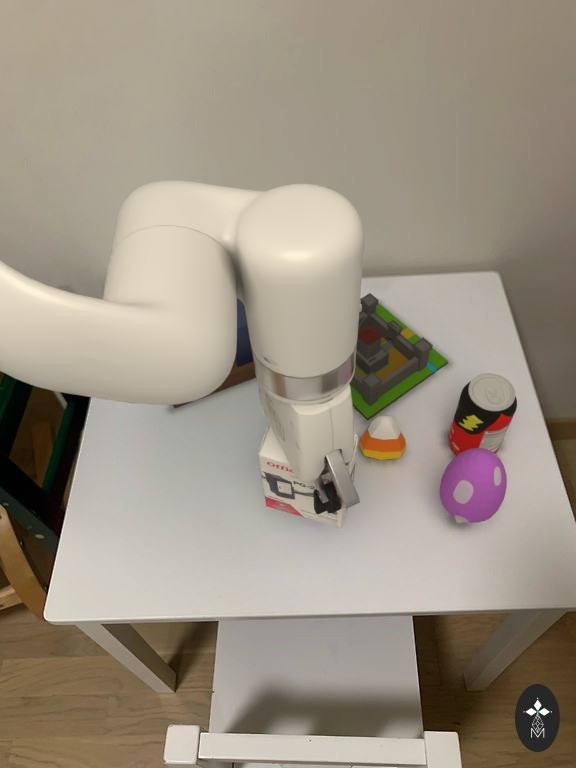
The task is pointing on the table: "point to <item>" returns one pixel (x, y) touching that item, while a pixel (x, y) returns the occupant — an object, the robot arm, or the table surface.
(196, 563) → the table surface
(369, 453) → the candy corn
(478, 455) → the toy
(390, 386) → the castle model
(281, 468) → the ink box
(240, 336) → the matching cartons
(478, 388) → the beverage can
